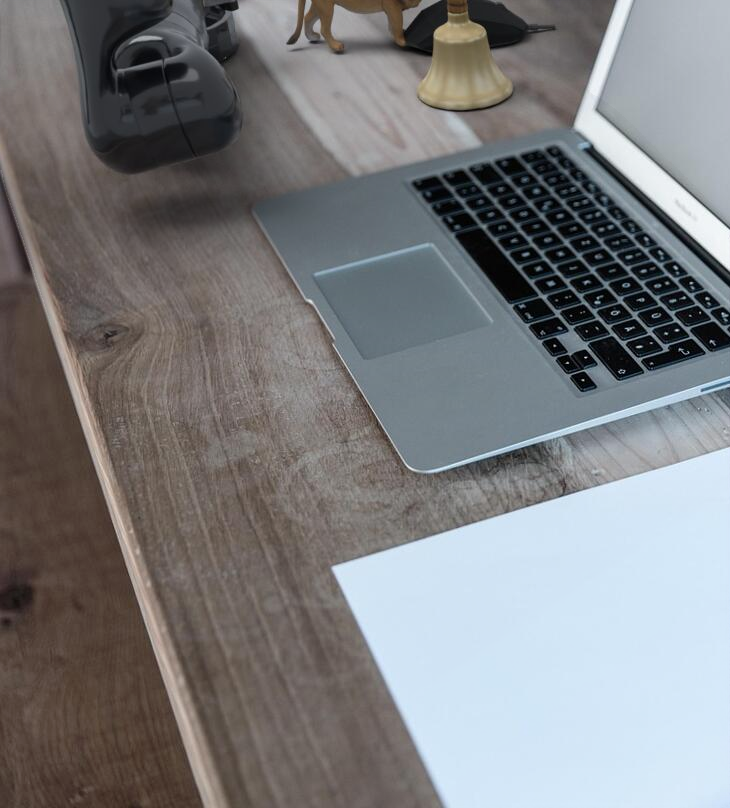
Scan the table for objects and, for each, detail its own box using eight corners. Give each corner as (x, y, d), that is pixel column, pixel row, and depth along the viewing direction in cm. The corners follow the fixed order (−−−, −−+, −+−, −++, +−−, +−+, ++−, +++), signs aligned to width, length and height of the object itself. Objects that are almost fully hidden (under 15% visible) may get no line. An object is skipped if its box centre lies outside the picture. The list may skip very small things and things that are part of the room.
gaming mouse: (565, 39, 115) (564, -3, 112) (412, 60, 110) (407, 17, 108) (545, 17, 119) (543, -23, 117) (397, 37, 115) (392, -5, 113)
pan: (100, 86, 105) (89, 47, 103) (102, 38, 115) (92, 1, 113) (243, 70, 109) (236, 31, 106) (234, 24, 118) (227, -12, 116)
